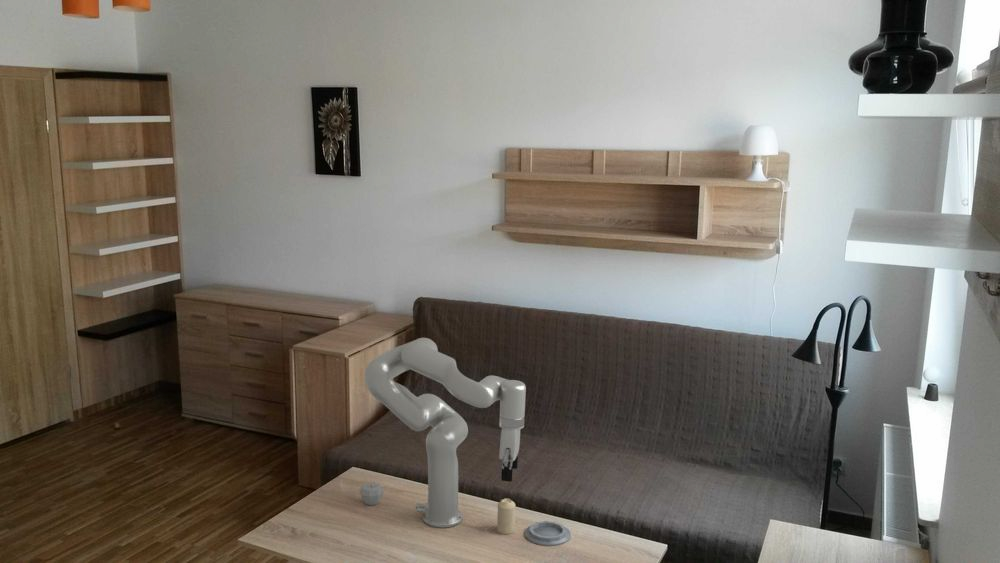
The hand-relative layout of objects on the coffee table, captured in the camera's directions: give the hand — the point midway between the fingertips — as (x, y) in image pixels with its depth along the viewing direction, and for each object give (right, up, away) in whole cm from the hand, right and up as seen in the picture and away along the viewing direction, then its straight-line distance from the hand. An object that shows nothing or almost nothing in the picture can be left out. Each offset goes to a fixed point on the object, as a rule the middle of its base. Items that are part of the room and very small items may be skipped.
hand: (509, 474), depth 254 cm
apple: (-45, -14, +20) cm, 52 cm away
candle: (-1, -18, +3) cm, 19 cm away
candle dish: (+12, -19, +1) cm, 22 cm away
